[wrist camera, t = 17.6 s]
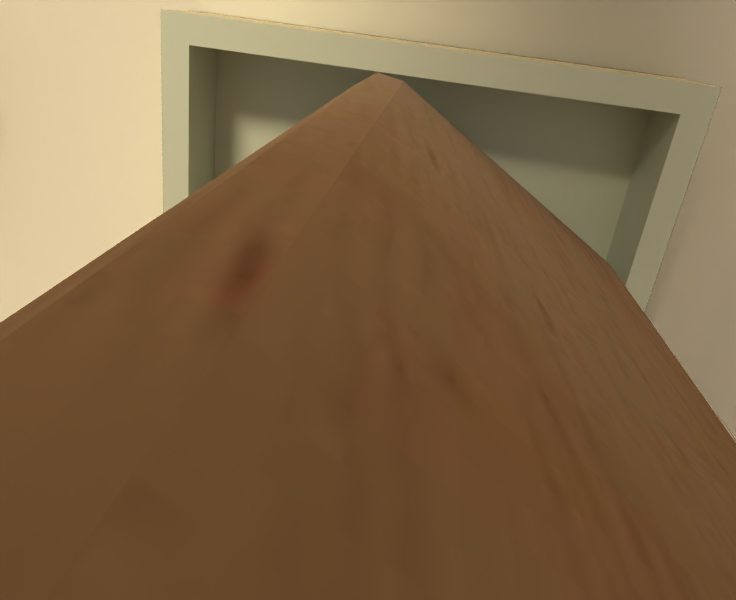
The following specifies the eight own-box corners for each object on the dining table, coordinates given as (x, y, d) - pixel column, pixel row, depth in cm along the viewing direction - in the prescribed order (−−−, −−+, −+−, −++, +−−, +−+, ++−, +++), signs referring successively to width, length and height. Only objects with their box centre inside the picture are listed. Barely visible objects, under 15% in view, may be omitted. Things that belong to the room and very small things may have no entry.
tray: (199, 11, 20) (160, 9, 17) (681, 78, 19) (721, 87, 16) (195, 408, 26) (166, 453, 23) (558, 469, 25) (572, 523, 23)
